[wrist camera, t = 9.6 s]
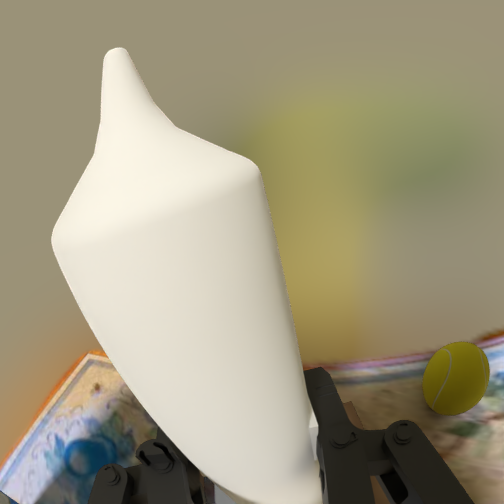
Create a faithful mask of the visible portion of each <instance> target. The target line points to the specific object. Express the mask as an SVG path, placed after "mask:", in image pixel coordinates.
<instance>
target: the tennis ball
mask: <svg viewBox="0 0 504 504" xmlns="http://www.w3.org/2000/svg"><path fill="white" fill-rule="evenodd" d="M489 376H490V369H489V363H488V359H487V357H486V355H485V353H484V352H483V351H482V349H481V348H479V347H477V346H476V345H475V344H472V343H468V342H454V343H451V344H448V345H446V346H444V347H442V348H441V349H439V350H438V351H437V352H436V353H435V354H434V355H433V356H432V358H431V359H430V361H429V362H428V364H427V366H426V369H425V372H424V375H423V382H422V388H423V395H424V398H425V400H426V403H427V404H428V406H429V407H430V408H431V409H432V410H434V411H435V412H436V413H438V414H441V415H448V416H450V415H458V414H461V413H464V412H466V411H468V410H469V409H471V408H472V407H474V406H475V405H476V404H477V403H478V402H479V401H480V400H481V398H482V397H483V395H484V393H485V391H486V389H487V386H488V382H489Z"/></svg>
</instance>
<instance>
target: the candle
mask: <svg viewBox="0 0 504 504" xmlns="http://www.w3.org/2000/svg"><path fill="white" fill-rule="evenodd" d="M51 242H52V247H53V251H54V253H55V256H56V258H57V261H58V263H59V265H60V268H61V270H62V272H63V274H64V276H65V279H66V281H67V283H68V285H69V287H70V289H71V291H72V293H73V295H74V297H75V299H76V301H77V303H78V305H79V307H80V309H81V311H82V313H83V315H84V317H85V318H86V320H87V322H88V324H89V326H90V327H91V329H92V331H93V332H94V334H95V336H96V338H97V340H98V341H99V343H100V345H101V346H102V348H103V349H104V351H105V353H106V354H107V356H108V357H109V359H110V360H111V362H112V364H113V365H114V367H115V368H116V370H117V371H118V373H119V374H120V376H121V377H122V378H123V380H124V381H125V383H126V384H127V386H128V387H129V388H130V390H131V391H132V392H133V394H134V395H135V396H136V398H137V399H138V400H139V402H140V403H141V404H142V406H143V407H144V408H145V410H146V411H147V412H148V413H149V415H150V416H151V417H152V418H153V420H154V421H155V422H156V423H157V424H158V426H159V427H160V428H161V429H162V430H163V431H164V433H165V434H166V435H167V436H168V437H169V438H170V439H171V441H172V442H173V443H174V444H175V445H176V446H177V447H178V448H179V449H180V450H181V452H182V453H183V454H184V455H185V456H186V457H187V458H188V459H189V460H190V461H191V462H192V463H193V464H194V465H195V466H196V467H197V468H198V469H199V470H200V471H201V472H202V473H203V474H204V475H205V476H206V477H207V478H208V479H209V480H211V481H212V482H213V483H214V484H215V485H216V486H217V487H218V488H219V489H220V490H222V491H223V492H224V493H225V494H226V495H227V496H229V497H230V498H231V499H232V500H233V501H234V502H236V503H237V504H323V502H322V491H321V481H320V477H319V471H320V465H319V461H318V458H317V460H315V458H314V453H313V448H312V443H311V438H310V432H309V426H310V419H311V413H310V406H309V400H308V394H307V389H306V383H305V378H304V373H303V367H302V362H301V357H300V352H299V347H298V342H297V336H296V331H295V326H294V321H293V316H292V311H291V306H290V301H289V297H288V292H287V287H286V282H285V277H284V273H283V268H282V263H281V259H280V255H279V250H278V245H277V241H276V236H275V231H274V227H273V223H272V218H271V214H270V209H269V205H268V201H267V197H266V192H265V189H264V184H263V179H262V175H261V173H260V171H259V169H258V167H257V165H255V164H254V163H253V162H252V161H251V160H249V159H247V158H245V157H243V156H241V155H238V154H236V153H233V152H231V151H228V150H226V149H224V148H221V147H219V146H217V145H215V144H212V143H210V142H208V141H206V140H203V139H201V138H199V137H197V136H195V135H192V134H190V133H188V132H186V131H183V130H181V129H179V128H177V127H175V125H174V124H173V123H172V122H171V121H170V120H169V119H168V118H167V116H166V115H165V114H164V113H163V112H162V111H161V110H160V109H159V108H158V107H157V105H156V104H155V103H154V102H153V100H152V98H151V96H150V94H149V92H148V90H147V88H146V86H145V84H144V83H143V81H142V79H141V77H140V75H139V73H138V71H137V69H136V67H135V65H134V63H133V61H132V60H131V58H130V56H129V54H128V52H127V51H126V50H125V49H123V48H114V49H112V50H110V51H108V52H107V54H106V55H105V57H104V62H103V75H102V91H101V121H100V126H99V131H98V136H97V141H96V146H95V151H94V156H93V157H92V159H91V161H90V162H89V164H88V166H87V168H86V169H85V172H84V173H83V175H82V177H81V178H80V180H79V182H78V184H77V186H76V187H75V189H74V191H73V193H72V195H71V197H70V199H69V201H68V203H67V204H66V206H65V208H64V210H63V211H62V213H61V215H60V217H59V219H58V220H57V222H56V225H55V227H54V229H53V233H52V238H51Z"/></svg>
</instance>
